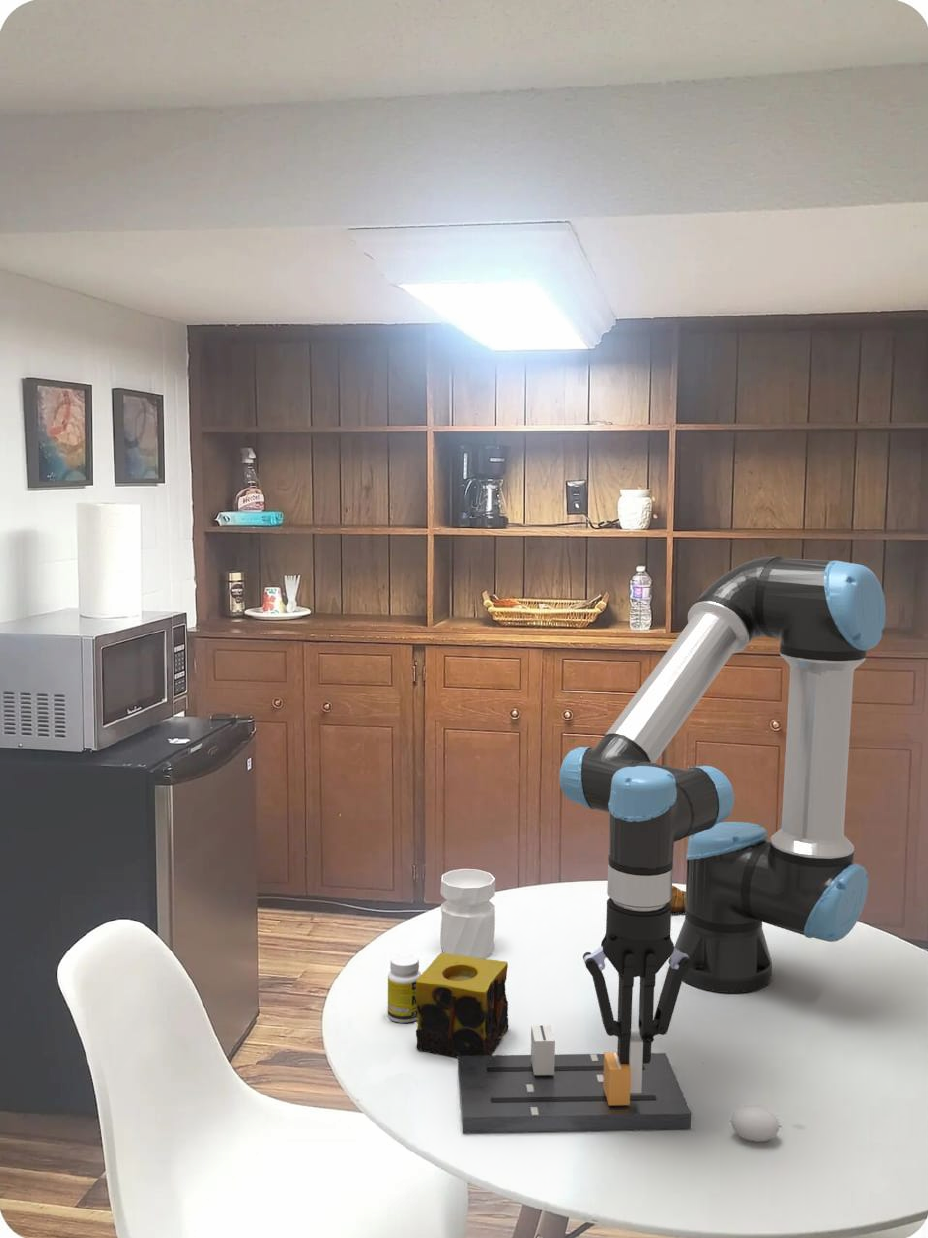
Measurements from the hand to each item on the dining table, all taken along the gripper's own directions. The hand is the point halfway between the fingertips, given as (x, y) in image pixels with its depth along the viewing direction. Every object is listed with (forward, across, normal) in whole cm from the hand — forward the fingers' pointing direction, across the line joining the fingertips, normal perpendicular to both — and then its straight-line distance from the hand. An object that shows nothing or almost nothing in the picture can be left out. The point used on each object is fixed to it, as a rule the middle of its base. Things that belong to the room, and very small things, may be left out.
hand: (632, 1086), depth 138 cm
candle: (+4, +20, -19) cm, 27 cm away
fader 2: (+1, +2, 0) cm, 2 cm away
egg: (+4, -13, +6) cm, 15 cm away
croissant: (+4, -19, -64) cm, 67 cm away
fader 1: (+1, +10, -7) cm, 12 cm away
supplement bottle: (+4, +28, -26) cm, 38 cm away
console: (+4, +7, -4) cm, 9 cm away
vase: (+4, +17, -48) cm, 51 cm away
